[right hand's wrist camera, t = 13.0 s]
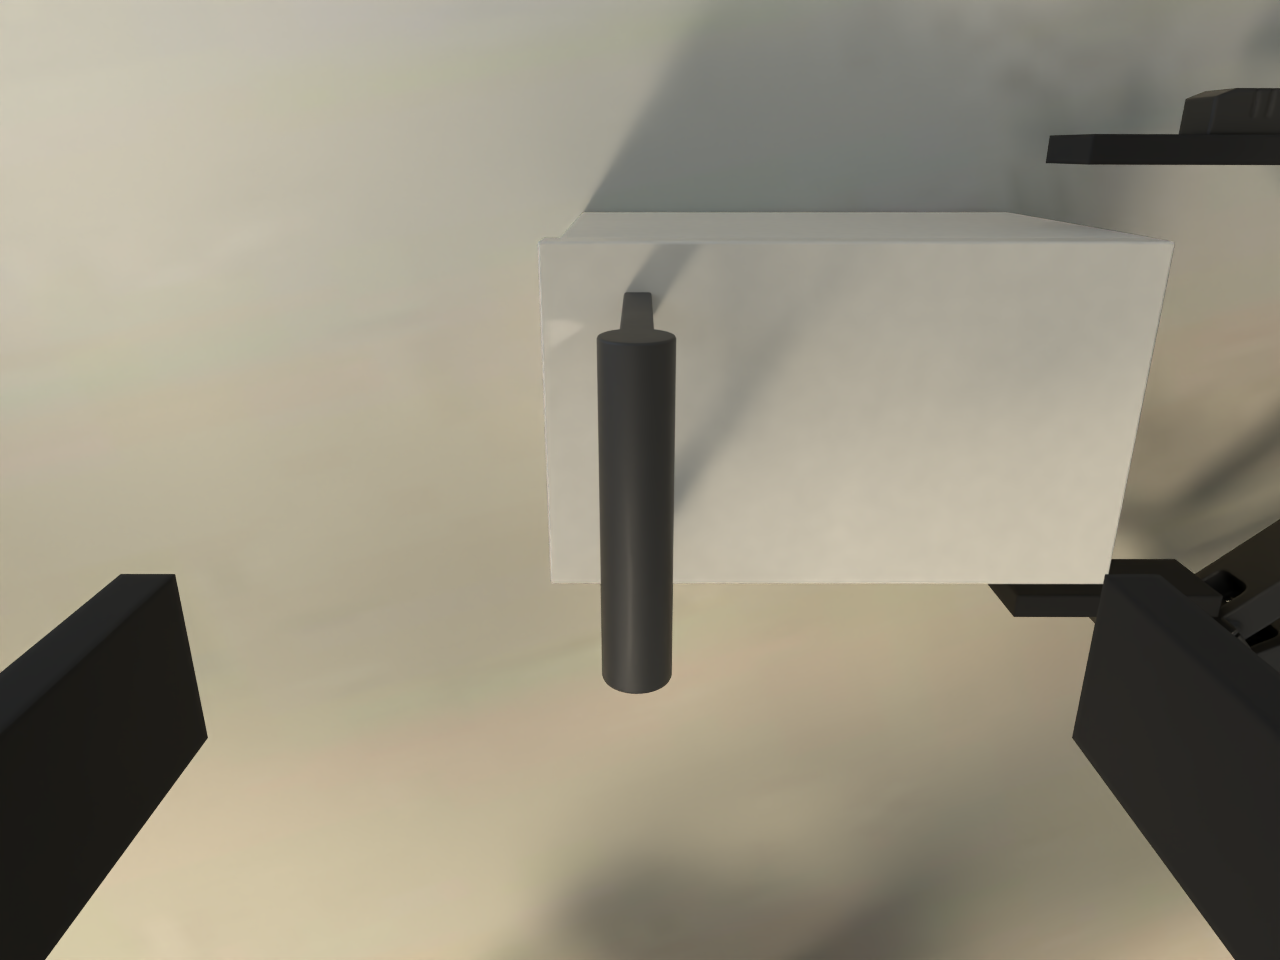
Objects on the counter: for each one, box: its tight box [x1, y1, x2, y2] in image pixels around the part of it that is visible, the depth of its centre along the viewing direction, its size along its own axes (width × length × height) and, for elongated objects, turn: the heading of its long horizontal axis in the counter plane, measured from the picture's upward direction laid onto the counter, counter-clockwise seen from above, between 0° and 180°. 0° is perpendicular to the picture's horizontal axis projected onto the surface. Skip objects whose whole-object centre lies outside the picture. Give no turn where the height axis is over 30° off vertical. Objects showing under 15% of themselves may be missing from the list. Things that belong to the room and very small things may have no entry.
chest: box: [561, 212, 1147, 237], centre depth 29 cm, size 15×10×10 cm, turn 90°
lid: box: [538, 237, 1175, 694], centre depth 21 cm, size 16×10×8 cm, turn 90°
